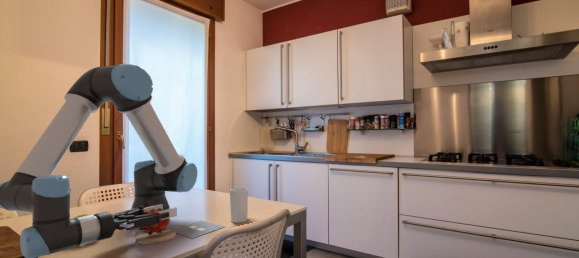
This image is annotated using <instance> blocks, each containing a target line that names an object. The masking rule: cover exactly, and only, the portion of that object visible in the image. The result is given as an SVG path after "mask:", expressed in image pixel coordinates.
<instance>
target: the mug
mask: <svg viewBox="0 0 579 258" xmlns="http://www.w3.org/2000/svg"><path fill="white" fill-rule="evenodd" d="M248 192H249V191H248V188H247V187H234V188H231V189H229V197H230V200H229V203H230V222H231V223H233V224H234V223H235V224H236V223H237V224H238V223H239V224H240V223H245V222H247V221H248V211H249V210H248V204H249V203H248V200H249V199H248V198H249V197H248V196H249V195H248V194H249V193H248Z"/></svg>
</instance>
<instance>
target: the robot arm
mask: <svg viewBox="0 0 579 258" xmlns="http://www.w3.org/2000/svg"><path fill="white" fill-rule="evenodd" d="M153 85H154V83H153V79H152V77H151V75H150V73H148V71H147V70H146V69H145V68H144V67H142V66H140V65H138V64H135V63H134V64H133V63H120V64H113V65H106V66H96V67H93V68H91V69H88V70H87V71H86V72H85V73H83V74H81V76H80V77H79V78H78V79H77V80H76V81H75V82H74V83H73V84H72V85H71V86H70V88H69V90H68V91H67V92H66V94H64V100H65V102H64V103H63V105H62V106H61V107H60V109H59V110H58V112H57V113H56V114H55V116H54V117H53V119H52V120H51V122H50V123H49V125H48V126H47V127H46V129H45V130H44V131H43V133H42V134H41V136H39V139H38V140H37V142H36V143H35V144H34V145H33V147H32V149H31V150H30V151H29V153H28V154H27V155H26V157H25V158H24V159H23V161H22V162H21V164H20V165H19V167H18V168H17V170H16V171H15V172H14V173H13V175H12V176H11V178H9V180H6V181H4V182H1V183H0V209H2V210H3V209H4V210H6V211H13V212H14V211H16V212H17V211H18V212H26V213H27V212H28V213H32V226H31V225H30V226H29V227H27V228H23V230H22V231H21V233H20V238H19V246H20V251H21V254H22V256H23V257H24V258H39V257H44V256H50V255H52V254H56V253H59V252H62V251H67V250H69V249H74V248H78V247H80V248H81V247H82V248H84V247H86V245H87V244H91V243H94V242H96V241H97V242H98V241H104V240H107V239H109V238H112V237H113V236H114V233H115V232H116V230H119V231H123V230H124V231H125V230H126V231H131V230H135V229H139V228H140V227H144V226H148V225H153V224H160V223H161V220H164V219H168V218H170V219H171V218H174V217H175V218H176V217H178V208H177V207H172V208H171V207H170V204H169V201H168V199H167V196H166V192H172V193H189V192H190V191H191V190H192V189H193V188H194V186H195V185H196V183H197V180H198V167H197V165H196V164H195V163H193V162H190V161H189V162H187V160H186V158H185V156H184V155H183V154H182V153H180V152H179V153H178V152H177V150H176V148H175V146H174V144H173V142H172V140H171V139H170V137H169V135H168V133H167V132H166V130H165V128H164V126H163V124H162V122H161V120H160V118H159V117H158V115H157V113H156V111H155V109H154V107H153V105H152V103H151V101H152V100H153V96H152V93H153V91H154V87H153ZM105 103H112V104H113V106H114V107H115V109H116V111H117V112H118V113H121V114H124V115H125V116H126V117H127V119H128V120H129V122H130V124H131V126H132V127H133V128H134V129H133V130H135V132H136V134H137V135H138V137H139V138H140V141H141V142H142V143H143V145H144V147H145V148H146V150H147V152H148V153H149V155H150V157H151V159H149V160H142V161H137V162H136V163H134V167H133V169H134V170H133V186H134V187H133V188H134V199H133V202H132V205H131V208H130V209H126V210H123V211H120V212H119V211H118V212H114V213H111V212H109V211H102V212H98V213H94V214H88V215H87V216H82V217H78V218H75V217H73V218H71V213H70V212H71V188H70V178H69V176H67V175H64V174H55V175H53V173H54V172H55V170H56V169H57V167H58V165H59V164H60V162H61V161H62V159H63V158H64V156H65V155H66V153H67V152H68V150H69V149H70V147H71V145H72V143H73V142H74V141H75V139H76V137H77V136H78V134H79V133H80V132H81V129H82V128H83V127H84V124H86V122H87V121H88V119H89V117H90V115H91V114H93V113H96V112H98V110H99V108H100V107H101V106H102V105H103V104H105ZM158 208H161V209H162V210H163V211H159V212H157V213H154V214H147V215H142V214H143V213H144V212H149V211H151V210H152V209H155V211H156V210H157V209H158Z"/></svg>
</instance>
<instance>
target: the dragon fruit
mask: <svg viewBox="0 0 579 258" xmlns="http://www.w3.org/2000/svg"><path fill="white" fill-rule="evenodd" d="M159 211H163V210H162V209H161V208H158V209H157V210H156V211H155V209H152V210H151V211H149V212H144V213H143V214H142V215H147V214H154V213H157V212H159ZM170 222H171V218H168V219H164V220H161V223H160V224H153V225H148V226H144V227H139V228H138V229H139V230H140V231H142V232H143V233H148V234H149V235H151V234H152V233H153V232H156V233H161V232H162V231H165V230H167V227H168V226H169V224H170Z"/></svg>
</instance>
